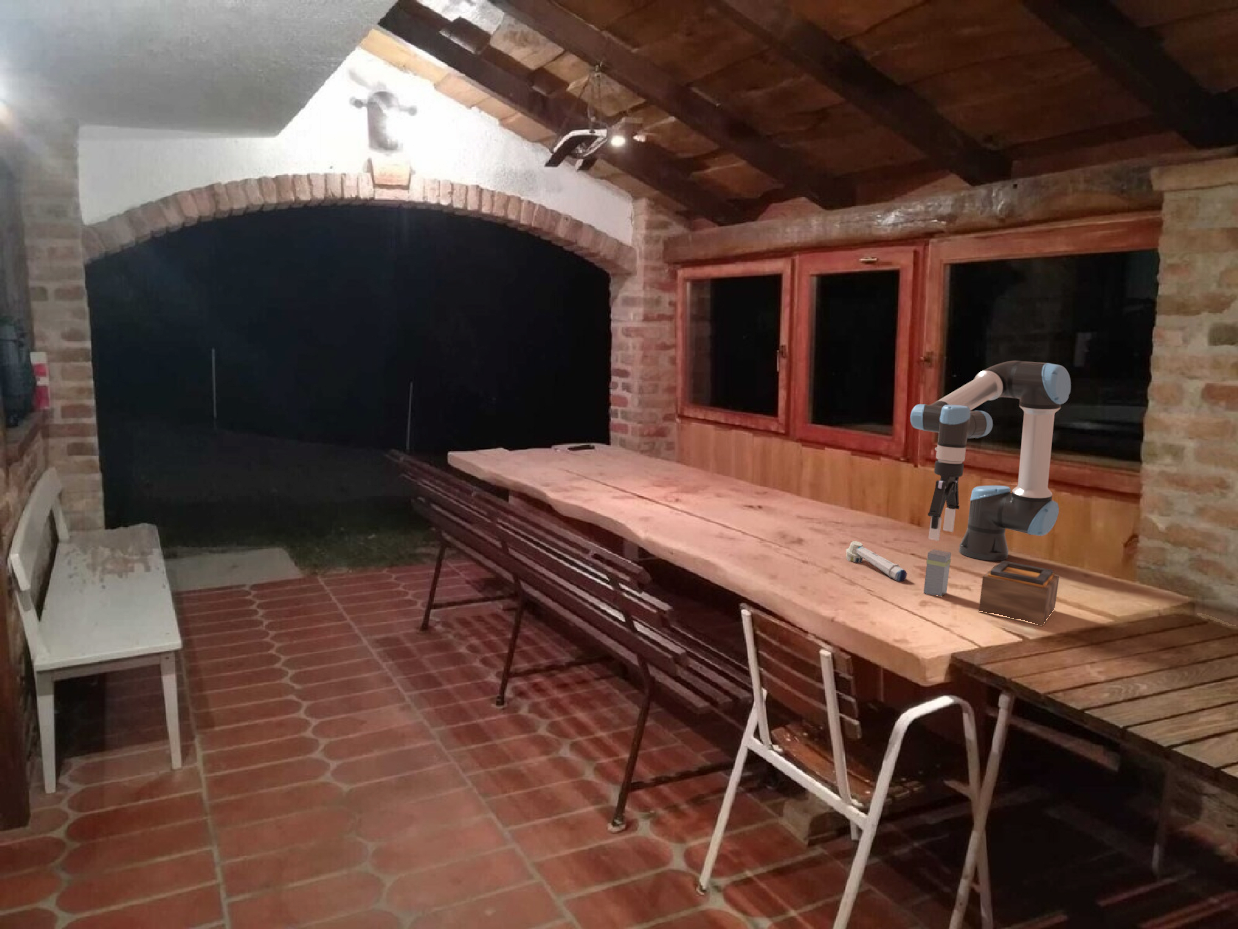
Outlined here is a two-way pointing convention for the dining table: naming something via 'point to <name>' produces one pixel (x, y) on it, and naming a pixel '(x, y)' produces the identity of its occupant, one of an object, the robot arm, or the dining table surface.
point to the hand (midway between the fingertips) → (941, 535)
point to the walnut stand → (1019, 592)
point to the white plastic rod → (875, 561)
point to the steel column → (937, 572)
